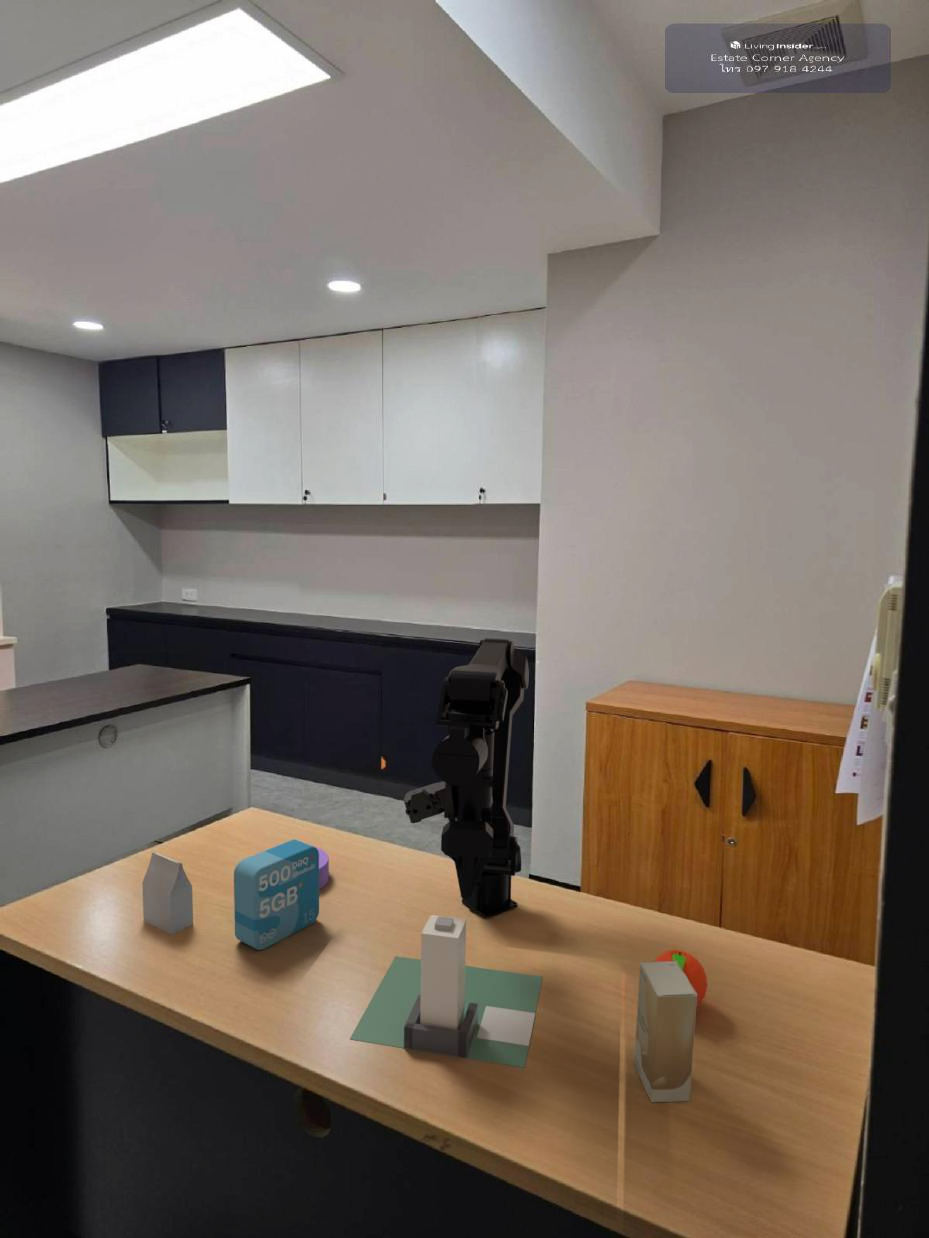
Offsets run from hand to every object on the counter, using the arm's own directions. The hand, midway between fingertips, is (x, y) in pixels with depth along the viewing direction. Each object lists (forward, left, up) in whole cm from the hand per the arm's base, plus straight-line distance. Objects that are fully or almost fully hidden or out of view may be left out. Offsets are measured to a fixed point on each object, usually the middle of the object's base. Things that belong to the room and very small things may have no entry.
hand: (466, 883), depth 101 cm
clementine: (-17, +22, -13) cm, 30 cm away
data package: (+15, -24, -13) cm, 32 cm away
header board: (+6, +6, -13) cm, 15 cm away
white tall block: (+10, +9, -12) cm, 18 cm away
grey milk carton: (+27, -36, -13) cm, 47 cm away
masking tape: (+6, -38, -13) cm, 41 cm away
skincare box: (-5, +29, -13) cm, 32 cm away
